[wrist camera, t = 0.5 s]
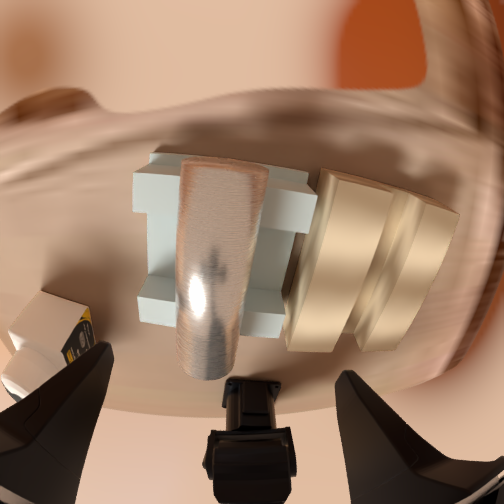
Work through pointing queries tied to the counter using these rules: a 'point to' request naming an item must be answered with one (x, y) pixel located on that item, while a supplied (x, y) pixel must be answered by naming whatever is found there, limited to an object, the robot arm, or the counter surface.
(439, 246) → the beech v-block
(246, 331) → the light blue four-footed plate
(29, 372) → the medicine bottle
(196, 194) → the steel axle
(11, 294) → the counter surface
